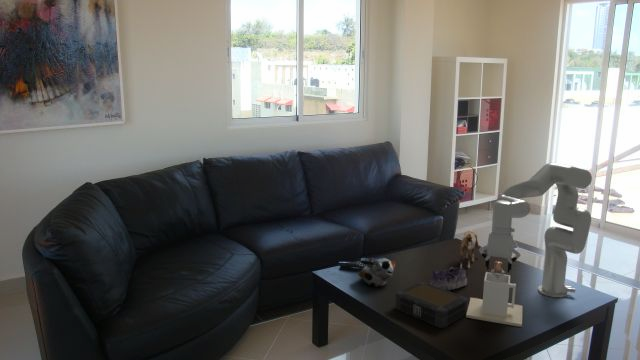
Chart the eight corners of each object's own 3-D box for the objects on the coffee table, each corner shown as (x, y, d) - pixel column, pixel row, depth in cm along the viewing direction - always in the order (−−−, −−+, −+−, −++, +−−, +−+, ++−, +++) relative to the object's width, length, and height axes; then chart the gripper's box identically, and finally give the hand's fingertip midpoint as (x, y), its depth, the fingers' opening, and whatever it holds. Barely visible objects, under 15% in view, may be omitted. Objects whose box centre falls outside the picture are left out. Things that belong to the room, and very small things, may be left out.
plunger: (505, 305, 220) (509, 260, 216) (504, 313, 213) (508, 267, 209) (486, 302, 223) (489, 258, 219) (484, 310, 216) (488, 264, 212)
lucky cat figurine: (371, 273, 261) (386, 248, 257) (388, 290, 253) (405, 265, 249) (351, 273, 249) (367, 247, 244) (369, 291, 240) (386, 265, 236)
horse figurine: (469, 275, 258) (472, 237, 254) (454, 272, 262) (456, 234, 258) (480, 256, 285) (483, 221, 281) (467, 253, 289) (469, 219, 285)
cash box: (392, 309, 222) (393, 293, 221) (420, 295, 236) (421, 280, 234) (441, 330, 204) (442, 312, 203) (468, 314, 218) (469, 297, 216)
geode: (442, 296, 235) (440, 275, 233) (424, 291, 244) (423, 271, 243) (472, 285, 245) (470, 265, 244) (454, 280, 255) (452, 261, 254)
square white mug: (522, 308, 223) (525, 274, 219) (521, 326, 206) (525, 290, 203) (470, 299, 231) (472, 266, 227) (466, 317, 214) (468, 282, 211)
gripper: (523, 230, 211) (520, 269, 215) (480, 225, 217) (477, 264, 221) (523, 235, 204) (519, 276, 208) (478, 230, 210) (475, 270, 214)
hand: (498, 269), depth 214 cm, fingers open, 7 cm apart
